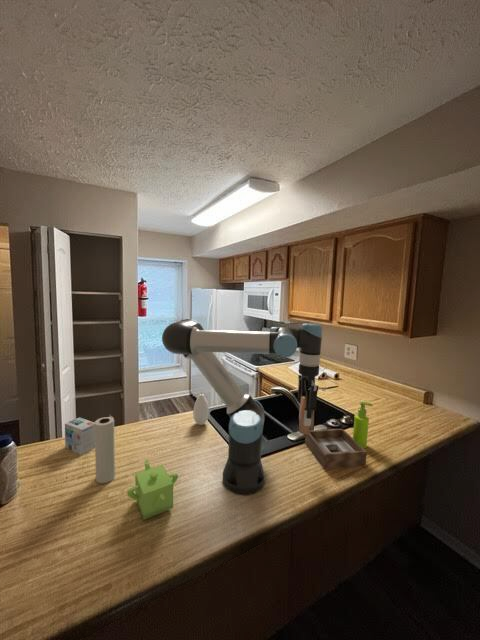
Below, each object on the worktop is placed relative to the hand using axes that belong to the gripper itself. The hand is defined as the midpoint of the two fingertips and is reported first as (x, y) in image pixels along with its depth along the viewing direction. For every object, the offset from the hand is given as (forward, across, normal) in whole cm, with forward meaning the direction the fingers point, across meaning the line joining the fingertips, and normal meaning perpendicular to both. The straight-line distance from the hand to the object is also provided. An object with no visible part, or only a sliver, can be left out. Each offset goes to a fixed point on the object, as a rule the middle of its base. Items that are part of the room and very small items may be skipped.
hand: (304, 422), depth 106 cm
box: (+17, +5, -16) cm, 24 cm away
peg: (+4, 0, 0) cm, 4 cm away
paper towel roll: (+18, +1, +73) cm, 75 cm away
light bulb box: (+18, +21, +89) cm, 93 cm away
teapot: (+18, -14, +55) cm, 59 cm away
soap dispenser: (+17, +10, -32) cm, 38 cm away
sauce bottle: (+18, +36, +39) cm, 56 cm away
